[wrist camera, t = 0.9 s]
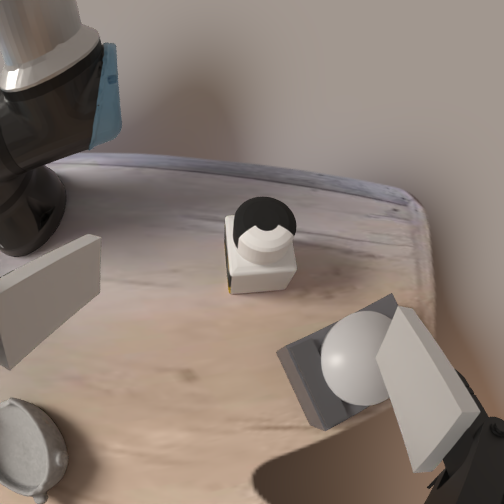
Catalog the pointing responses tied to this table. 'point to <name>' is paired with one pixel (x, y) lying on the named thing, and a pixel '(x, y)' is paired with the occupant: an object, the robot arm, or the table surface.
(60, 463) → the dish
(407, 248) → the table surface
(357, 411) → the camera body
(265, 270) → the medicine bottle
